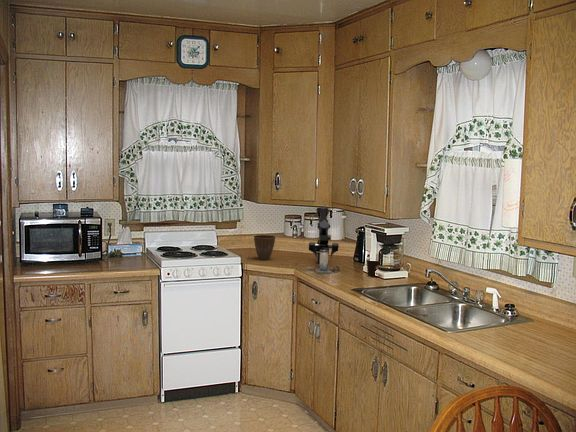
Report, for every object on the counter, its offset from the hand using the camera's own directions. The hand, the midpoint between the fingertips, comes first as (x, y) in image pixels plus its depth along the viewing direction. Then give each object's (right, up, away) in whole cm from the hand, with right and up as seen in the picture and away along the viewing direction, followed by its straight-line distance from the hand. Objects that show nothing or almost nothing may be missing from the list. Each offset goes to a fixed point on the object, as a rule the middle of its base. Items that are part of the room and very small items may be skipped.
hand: (323, 257), depth 373 cm
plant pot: (-39, -4, +40) cm, 56 cm away
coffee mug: (+31, -11, -9) cm, 34 cm away
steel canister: (0, -8, -1) cm, 8 cm away
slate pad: (0, -9, -1) cm, 9 cm away
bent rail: (+8, -9, +3) cm, 13 cm away
